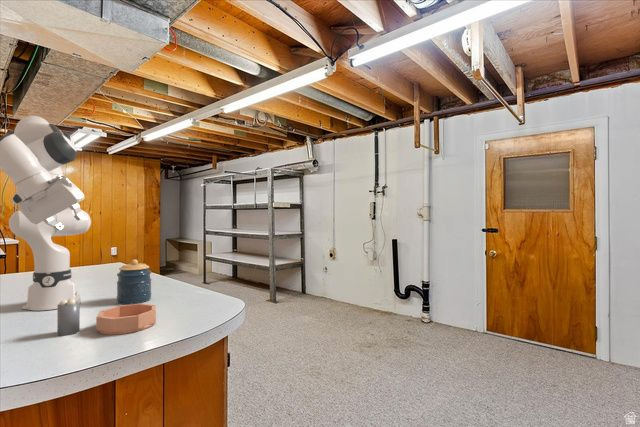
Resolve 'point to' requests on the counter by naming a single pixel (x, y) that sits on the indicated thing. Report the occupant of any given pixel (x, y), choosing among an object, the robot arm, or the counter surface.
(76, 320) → the pebble cup
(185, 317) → the counter surface
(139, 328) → the terracotta bowl
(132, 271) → the canister
